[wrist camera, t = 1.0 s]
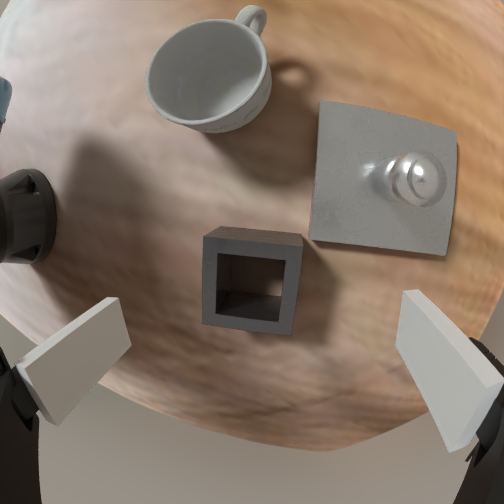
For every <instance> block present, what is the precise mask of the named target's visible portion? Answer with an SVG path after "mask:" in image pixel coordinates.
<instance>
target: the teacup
mask: <svg viewBox="0 0 504 504" xmlns="http://www.w3.org/2000/svg"><path fill="white" fill-rule="evenodd" d="M266 20H267V14H266V12H265V10H264V9H263V8H261V7H258V6H255V5H249V6H246V7H245V8H243V9H242V10H241V11H240V12H239V14H238V15H237V17H236V20H235V21H232V20H227V19H208V20H202V21H198V22H195V23H192V24H190V25H188V26H186V27H183V28H181V29H180V30H178V31H177V32H175V33H174V34H172V35H171V36H170V37H169V38H168V39H166V40H165V41H164V42H163V43H162V44H161V46H160V47H159V48H158V50H157V51H156V52H155V54H154V55H153V57H152V59H151V61H150V64H149V66H148V70H147V74H146V81H145V82H146V92H147V96H148V99H149V101H150V103H151V105H152V106H153V107H154V108H155V110H156V111H157V112H158V113H159V114H160V115H161V116H163V117H164V118H166V119H167V120H170V121H172V122H174V123H177V124H181V125H184V126H186V127H189V128H191V129H194V130H197V131H201V132H206V133H224V132H229V131H232V130H235V129H238V128H240V127H242V126H244V125H246V124H247V123H249V122H250V121H252V120H253V119H254V118H255V117H256V116H257V115H258V114H259V113H260V112H261V111H262V109H263V108H264V106H265V105H266V103H267V101H268V99H269V96H270V93H271V88H272V75H271V69H270V65H269V62H268V57H267V51H266V48H265V45H264V43H263V41H262V39H261V38H260V35H261V33H262V31H263V29H264V27H265V24H266Z"/></svg>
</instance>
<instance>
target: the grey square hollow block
mask: <svg viewBox="0 0 504 504" xmlns="http://www.w3.org/2000/svg"><path fill="white" fill-rule="evenodd" d="M231 254H233V255H242V256H251V257H261V258H270V259H280V260H285V269H284V277H283V286H282V294H281V297H280V296H271V295H262V294H254V293H245V292H237V291H230V290H229V286H230V266H231ZM302 254H303V242H302V237H301V234H296V233H287V232H277V231H267V230H256V229H246V228H235V227H224V226H220V227H219V228H217V229H215V230H213V231H212V232H210V233H208V234H207V235H205V236H203V266H202V324H206V325H212V326H218V327H225V328H231V329H238V330H245V331H253V332H261V333H269V334H278V335H287V336H291V332H292V326H293V320H294V313H295V306H296V300H297V292H298V285H299V278H300V270H301V262H302Z"/></svg>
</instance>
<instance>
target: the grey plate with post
mask: <svg viewBox="0 0 504 504" xmlns="http://www.w3.org/2000/svg"><path fill="white" fill-rule="evenodd" d="M456 166H457V132H455V131H452V130H449V129H446V128H443V127H440V126H437V125H434V124H431V123H428V122H424V121H421V120H417V119H414V118H410V117H406V116H403V115H399V114H395V113H391V112H386V111H382V110H377V109H372V108H367V107H362V106H357V105H351V104H345V103H339V102H332V101H325V100H320V101H319V104H318V126H317V144H316V159H315V172H314V184H313V196H312V206H311V216H310V226H309V235H308V237H309V240H319V241H328V242H337V243H345V244H354V245H363V246H371V247H379V248H388V249H396V250H404V251H412V252H419V253H427V254H435V255H442V256H446V252H447V247H448V241H449V235H450V229H451V222H452V215H453V206H454V196H455V184H456Z"/></svg>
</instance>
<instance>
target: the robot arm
mask: <svg viewBox="0 0 504 504" xmlns="http://www.w3.org/2000/svg"><path fill="white" fill-rule="evenodd" d="M11 96H12V86H11V84H10V82H9V81H8V80H6V79H4V78H2V77H0V132H1V129H2V125H3V123H5V120H6V119H5V116H6V112H7V109H8V106H9V102H10V99H11ZM55 231H56V209H55V202H54V197H53V193H52V190H51V187H50V185H49V183H48V181H47V179H46V177H45V176H44V175H43V174H42V173H41V172H40V171H38V170H36V169H21V170H18V171H16V172H14V173H12V174H10V175H8V176H6V177H4V178H3V179H1V180H0V263H19V264H32V263H35V262H37V261H40V260H42V259H44V258H45V257H46V256H47V255H48V253H49V252H50V250H51V248H52V245H53V242H54V237H55ZM131 346H132V345H131V342H130V338H129V335H128V331H127V328H126V324H125V321H124V317H123V313H122V309H121V305H120V301H119V298H114V297H107V298H105V299H104V300H102V301H101V302H99V303H98V304H96V305H95V306H93V307H92V308H91V309H89V310H88V311H86V312H85V313H83V314H82V315H80V316H79V317H78V318H76V319H75V320H73V321H72V322H70V323H69V324H68V325H66V326H65V327H63V328H62V329H61V330H59V331H58V332H56V333H55V334H54V335H52V336H51V337H49V338H48V339H47V340H45V341H44V342H43V343H41V344H40V345H38V346H37V347H36V348H34V349H33V350H32V351H30V352H29V353H28V354H26V355H25V356H24V357H22V358H21V359H20V360H18V362H16V363H15V367H13V368H12V369H11V368H10V366H9V364H8V362H7V359H6V357H5V355H4V353H3V350H2V349H1V347H0V504H42V502H41V493H40V482H39V464H38V438H39V417H38V416H37V414H36V412H37V411H38V410H40V411H41V413H42V415H43V416H44V417H45V419H46V420H47V421H48V422H50V423H52V424H54V425H56V426H59V425H60V424H61V422H62V421H63V420H64V419H65V418H66V417H67V416H68V415H69V413H70V412H71V411H72V410H73V409H74V408H75V407H76V406H77V405H78V403H79V402H80V401H81V400H82V399H83V398H84V397H85V396H86V395H87V393H88V392H89V391H90V390H91V389H92V388H93V387H94V385H96V383H97V382H98V381H99V380H100V379H101V378H102V377H103V376H104V375H105V374H106V373H107V371H108V370H109V369H110V368H111V367H112V366H113V365H114V364H115V363H116V362H117V361H118V360H119V359H120V357H121V356H122V355H123V354H124V353H125V352H126V351H127V350H128V349H129V348H130V347H131ZM395 346H396V348H397V350H398V352H399V353H400V355H401V357H402V359H403V360H404V362H405V364H406V366H407V368H408V370H409V371H410V373H411V375H412V377H413V379H414V381H415V383H416V385H417V387H418V389H419V391H420V392H421V394H422V396H423V398H424V400H425V402H426V404H427V406H428V409H429V411H430V413H431V415H432V417H433V419H434V421H435V423H436V425H437V428H438V430H439V432H440V434H441V436H442V439H443V441H444V443H445V445H446V448H447V450H448V453H451V452H453V451H456V450H458V449H461V448H463V447H465V446H468V444H469V443H470V441H471V440H472V438H473V437H474V435H475V434H477V436H478V438H479V442H478V443H477V445H476V446H475V447H474V449H473V450H472V452H471V453H470V454H469V456H468V457H467V459H466V462H468V461H469V459H470V458H471V456H472V459H471V461H470V464H469V467H468V470H467V473H466V475H465V478H464V480H463V483H462V485H461V487H460V489H459V492H458V494H457V496H456V499H455V500H454V503H453V504H504V366H503V365H502V364H501V363H500V362H499V361H498V360H497V359H495V356H494V355H493V354H492V353H489V350H488V349H487V348H486V347H485V346H484V345H483V344H482V343H481V342H479V341H477V340H475V339H474V338H472V337H470V338H467V337H466V336H465V334H464V333H463V332H462V331H461V330H460V329H459V328H458V327H457V326H456V325H455V324H454V323H453V322H452V321H451V320H450V319H449V318H448V317H447V316H446V315H445V314H444V313H443V312H442V311H440V310H439V309H438V308H437V307H436V306H435V305H434V304H433V303H432V302H431V301H430V300H429V299H428V298H427V297H426V296H425V295H424V294H422V293H421V292H420V291H419V290H418V289H417V290H407V291H403V296H402V304H401V311H400V318H399V325H398V331H397V337H396V342H395Z"/></svg>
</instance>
